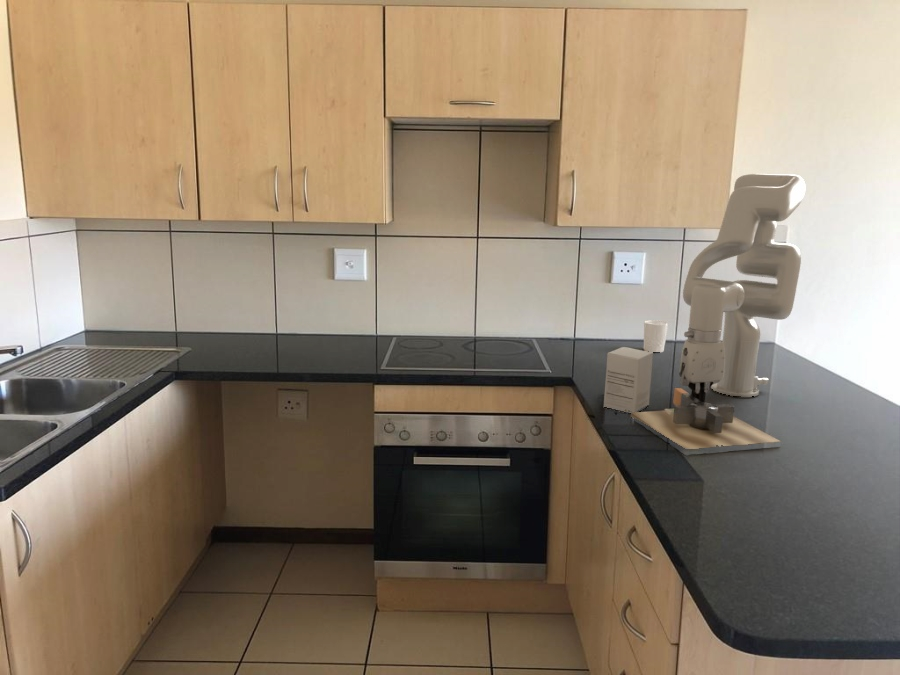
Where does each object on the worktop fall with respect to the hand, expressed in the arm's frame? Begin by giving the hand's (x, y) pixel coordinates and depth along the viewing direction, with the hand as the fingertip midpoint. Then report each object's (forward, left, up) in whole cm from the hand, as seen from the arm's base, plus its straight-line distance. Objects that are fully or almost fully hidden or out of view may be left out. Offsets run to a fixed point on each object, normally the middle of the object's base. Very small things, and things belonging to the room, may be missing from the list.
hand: (697, 406), depth 173 cm
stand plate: (+5, +9, -3) cm, 11 cm away
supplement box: (+14, -11, -3) cm, 18 cm away
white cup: (-26, -65, -3) cm, 70 cm away
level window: (+5, -1, -2) cm, 5 cm away
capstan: (+4, +6, -1) cm, 7 cm away
